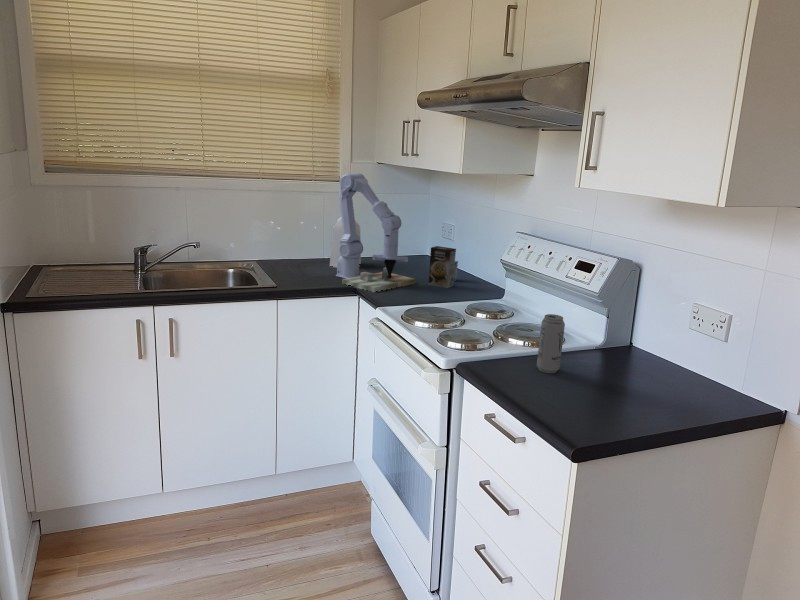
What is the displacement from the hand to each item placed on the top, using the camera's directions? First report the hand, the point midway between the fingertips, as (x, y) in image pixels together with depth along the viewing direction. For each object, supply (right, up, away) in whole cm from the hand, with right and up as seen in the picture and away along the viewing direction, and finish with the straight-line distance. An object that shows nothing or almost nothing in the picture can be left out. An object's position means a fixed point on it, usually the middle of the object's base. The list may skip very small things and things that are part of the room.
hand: (389, 277), depth 251 cm
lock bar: (-2, +1, +3) cm, 4 cm away
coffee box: (+21, -3, +4) cm, 22 cm away
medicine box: (+25, -1, +16) cm, 30 cm away
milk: (-22, +7, +36) cm, 42 cm away
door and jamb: (-4, -2, +2) cm, 5 cm away
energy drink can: (+44, -28, -87) cm, 102 cm away
